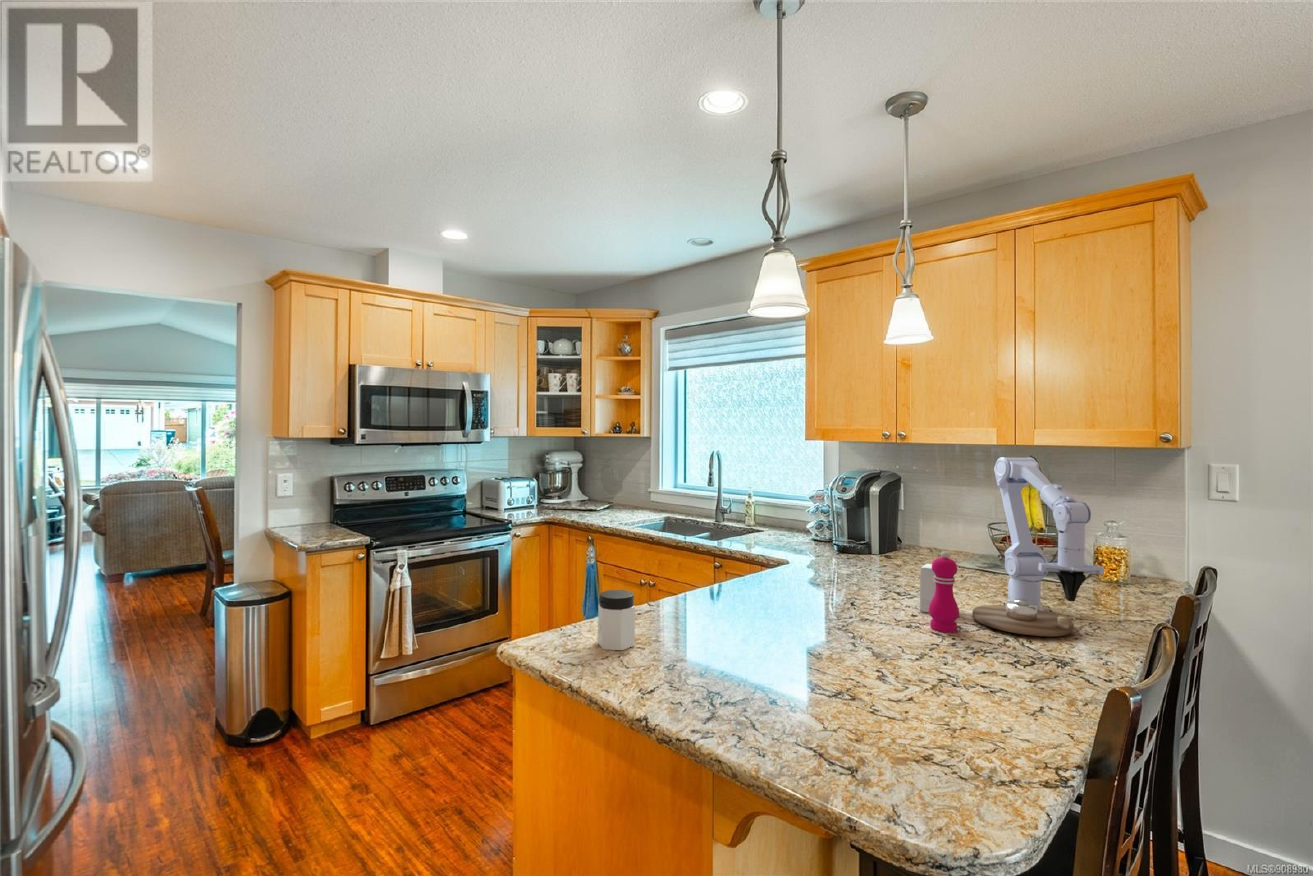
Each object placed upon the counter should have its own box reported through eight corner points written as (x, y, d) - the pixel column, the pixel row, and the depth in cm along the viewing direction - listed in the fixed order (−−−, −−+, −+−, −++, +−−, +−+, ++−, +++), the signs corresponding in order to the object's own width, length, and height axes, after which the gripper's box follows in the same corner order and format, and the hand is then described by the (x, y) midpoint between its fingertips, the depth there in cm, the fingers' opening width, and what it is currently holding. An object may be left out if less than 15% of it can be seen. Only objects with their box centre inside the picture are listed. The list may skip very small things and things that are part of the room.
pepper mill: (952, 625, 162) (953, 549, 162) (963, 634, 154) (964, 554, 154) (924, 624, 162) (925, 548, 162) (933, 632, 155) (935, 553, 155)
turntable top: (962, 606, 176) (962, 594, 176) (1051, 612, 171) (1051, 599, 171) (988, 632, 153) (988, 618, 153) (1091, 639, 148) (1091, 624, 148)
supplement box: (947, 616, 169) (947, 570, 169) (918, 611, 174) (919, 567, 174) (953, 610, 175) (953, 566, 175) (925, 605, 180) (926, 562, 180)
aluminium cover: (1001, 613, 166) (1001, 596, 166) (1029, 614, 165) (1029, 597, 165) (1012, 620, 159) (1012, 603, 159) (1041, 622, 158) (1042, 605, 158)
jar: (595, 640, 147) (595, 590, 147) (628, 637, 150) (628, 588, 150) (603, 653, 139) (603, 600, 139) (638, 649, 141) (638, 597, 141)
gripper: (1046, 549, 157) (1045, 602, 157) (1110, 552, 154) (1109, 606, 154) (1035, 544, 164) (1034, 595, 164) (1096, 547, 161) (1095, 599, 161)
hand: (1070, 600), depth 160 cm, fingers closed
